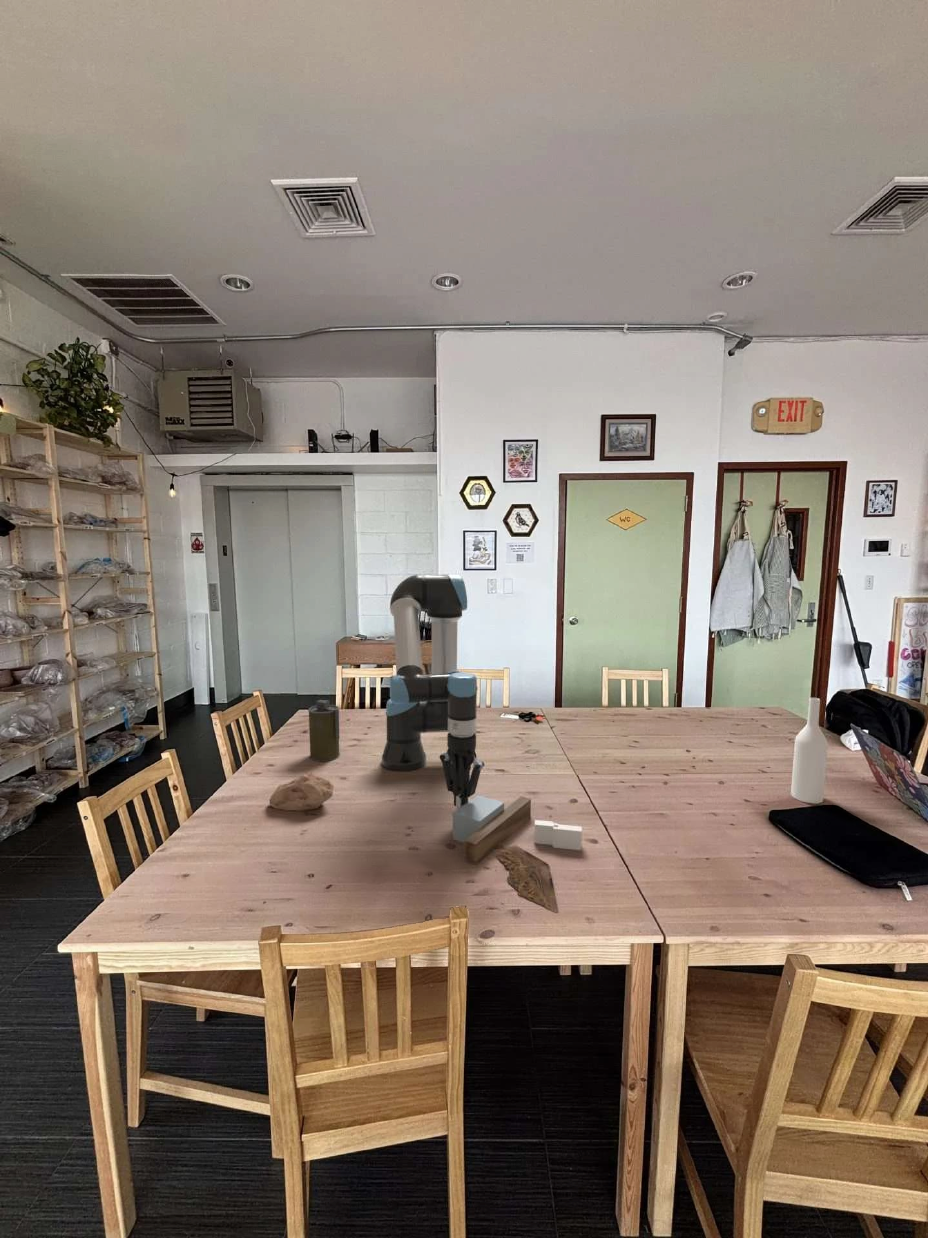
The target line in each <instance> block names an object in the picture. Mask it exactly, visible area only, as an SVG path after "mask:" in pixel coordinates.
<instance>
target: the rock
mask: <svg viewBox="0 0 928 1238" xmlns="http://www.w3.org/2000/svg"><path fill="white" fill-rule="evenodd" d="M334 788H335V785H334V784H333V783H332V782H331V781H330V780H329V779H326V778H325V777H320V776H318V775H316V774H314V773H313V772H306V773H303V774H302V775H300V776H299V777H297V778H295V779H294V780H291V781H289V782H287V783H282V784H279V785H278V786H277V787H276V789H275V791H274V792H273V793H272V795H271V796H270V798H269V805H270V806H271V807H272V808H274V809H275V810H276V809H277V810H284V811H309V810H314V809H318V808H319V807H321V805H324V803H325V802H327V801H328V800H330V799H331V798H332V797H333V796H334V794H333V793H334V792H333V791H334Z"/></svg>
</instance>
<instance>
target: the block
mask: <svg viewBox="0 0 928 1238" xmlns="http://www.w3.org/2000/svg"><path fill="white" fill-rule="evenodd" d="M504 809H505V802H503V801H500V800H497V799H493V798H489V797H486V796H483V795H479V794H478V795H477V796H475V797H473V798H472V799H470V800H468V802H467V803H466V804H465V805H463V806H462V807H460V808H459V809H457V810H456V809H455V810H454V811H453V812H452V839H453V840H455V841H458V842H461V843H463V844H465V840H466V839H467V838H469V837H470V836H471V835H472V834H474V833H475V832H476V831H478V830H479V829H480V828H481V827H483V826H484V825H485V824H486V823H488V822H489V821H490V820H492V819H493V818H494V817H495V816H497V815H498V814H499V813H500V812H502V811H503V810H504Z"/></svg>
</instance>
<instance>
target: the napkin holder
mask: <svg viewBox="0 0 928 1238" xmlns="http://www.w3.org/2000/svg"><path fill="white" fill-rule="evenodd" d="M582 828H583V827H582V826H580V825H569V824H568V825H567V824H559V823H556V822H554V821H550V820H538V819H535V820H534V838H533V839H534V844H540V845H541V844H542V845H551V846H552V848H555V849H556V848H557V849H564V850H565V849H567V850H575V851H582V843H583V842H582V840H583V839H582V838H583V829H582Z"/></svg>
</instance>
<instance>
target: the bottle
mask: <svg viewBox="0 0 928 1238" xmlns="http://www.w3.org/2000/svg"><path fill="white" fill-rule="evenodd" d="M808 701H809V702H808V711H807V722H806V725H804V727H803V728H802V729H801V730H799V733H798V734H797V735H795V736H796V737H795V739H794V750H793V761H792V762H793V763H792V774H791V775H792V776H791V788H790V789H791V790H790V796H792V798H793V799H796V800H797V801H799V802H803V803H808V804H815V805H816V804H821V803H823V802H824V794H825V783H826V771H827V770H826V769H827V761H828V760H827V759H828V747H829V743H828V740H827V738H826V737H825V735H824V733H823V731H822V730H821V728H820V726H819V725H820V724H819V722H820V721H819V719H820V707H821V699H820V698H818V697H809V700H808Z"/></svg>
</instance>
